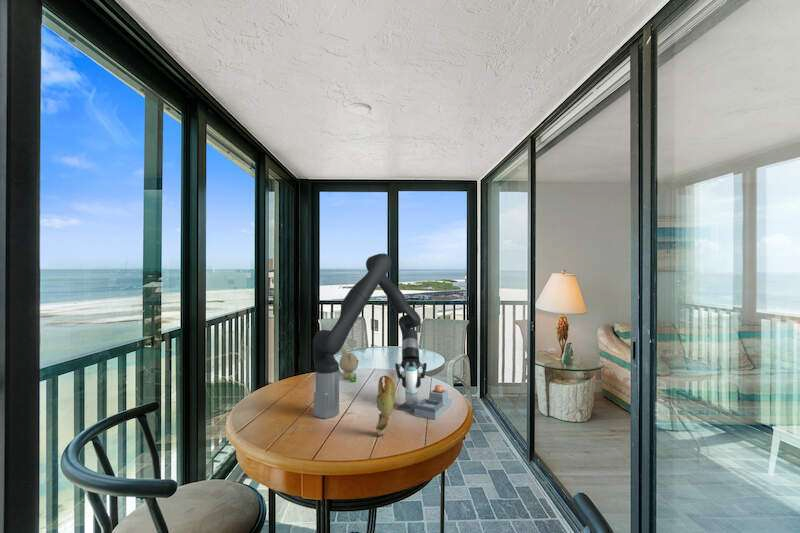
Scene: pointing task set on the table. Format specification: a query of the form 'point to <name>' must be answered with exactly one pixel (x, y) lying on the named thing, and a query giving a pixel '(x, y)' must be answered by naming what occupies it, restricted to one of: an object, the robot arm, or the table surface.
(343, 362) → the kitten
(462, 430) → the table surface
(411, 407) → the pad
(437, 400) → the housing
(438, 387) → the plunger
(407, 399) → the cartridge
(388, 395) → the crab claw
